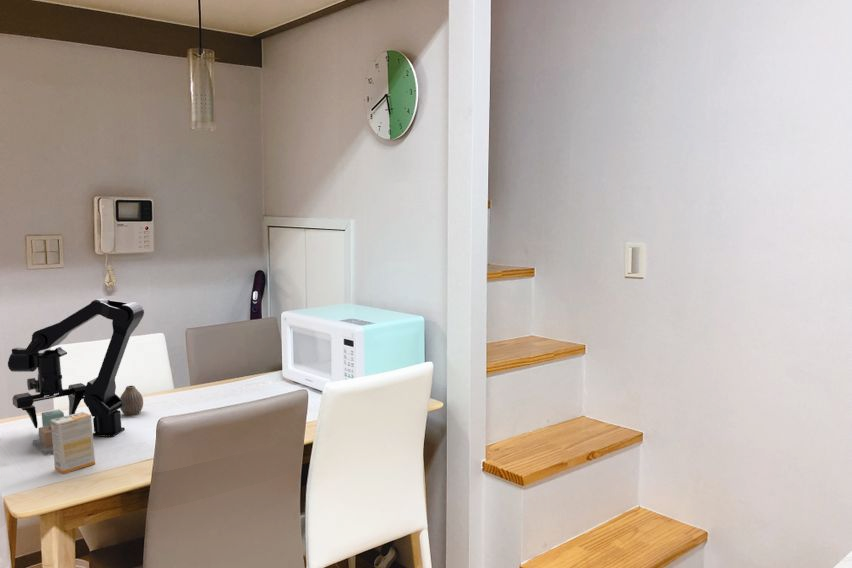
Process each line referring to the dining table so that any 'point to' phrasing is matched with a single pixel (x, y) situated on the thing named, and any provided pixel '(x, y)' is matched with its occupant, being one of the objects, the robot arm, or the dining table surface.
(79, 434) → the supplement box
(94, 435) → the robot arm
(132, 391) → the vase
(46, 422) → the block
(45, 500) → the dining table surface
